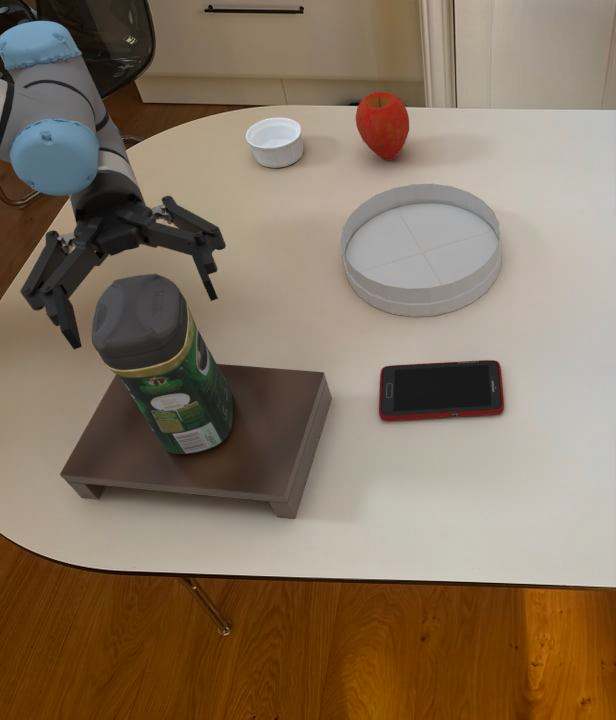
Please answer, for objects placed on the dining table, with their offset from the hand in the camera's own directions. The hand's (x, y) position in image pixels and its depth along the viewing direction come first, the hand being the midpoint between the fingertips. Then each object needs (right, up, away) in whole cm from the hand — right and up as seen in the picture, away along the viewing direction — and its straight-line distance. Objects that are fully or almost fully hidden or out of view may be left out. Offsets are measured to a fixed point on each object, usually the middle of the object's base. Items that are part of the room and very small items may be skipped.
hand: (143, 314), depth 70 cm
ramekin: (0, +29, +47) cm, 55 cm away
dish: (+26, +10, +30) cm, 40 cm away
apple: (+18, +29, +46) cm, 57 cm away
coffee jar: (+3, -11, +7) cm, 13 cm away
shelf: (+3, -14, +10) cm, 18 cm away
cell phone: (+29, -9, +14) cm, 34 cm away
